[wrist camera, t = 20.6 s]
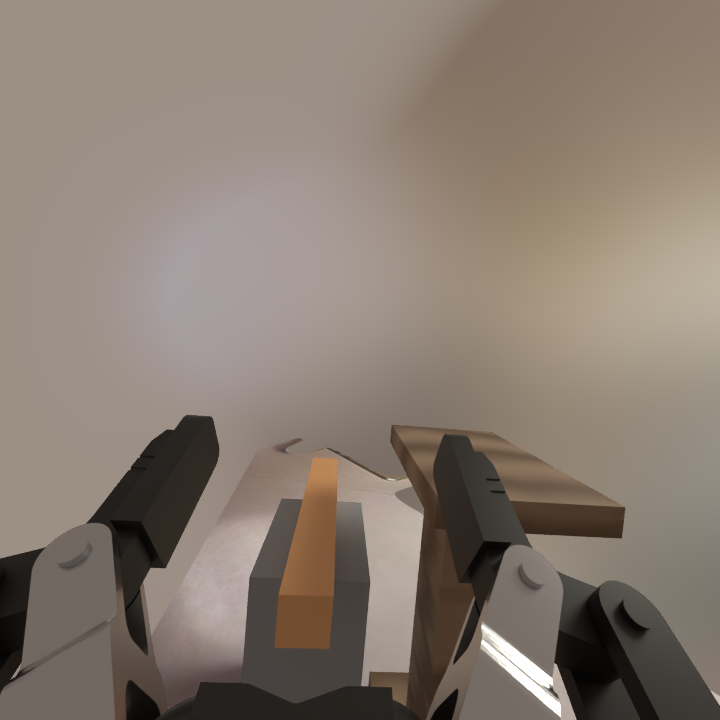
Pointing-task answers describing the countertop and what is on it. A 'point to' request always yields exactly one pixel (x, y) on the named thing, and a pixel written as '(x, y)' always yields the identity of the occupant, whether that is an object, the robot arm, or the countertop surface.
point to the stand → (436, 566)
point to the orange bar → (310, 565)
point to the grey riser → (349, 616)
